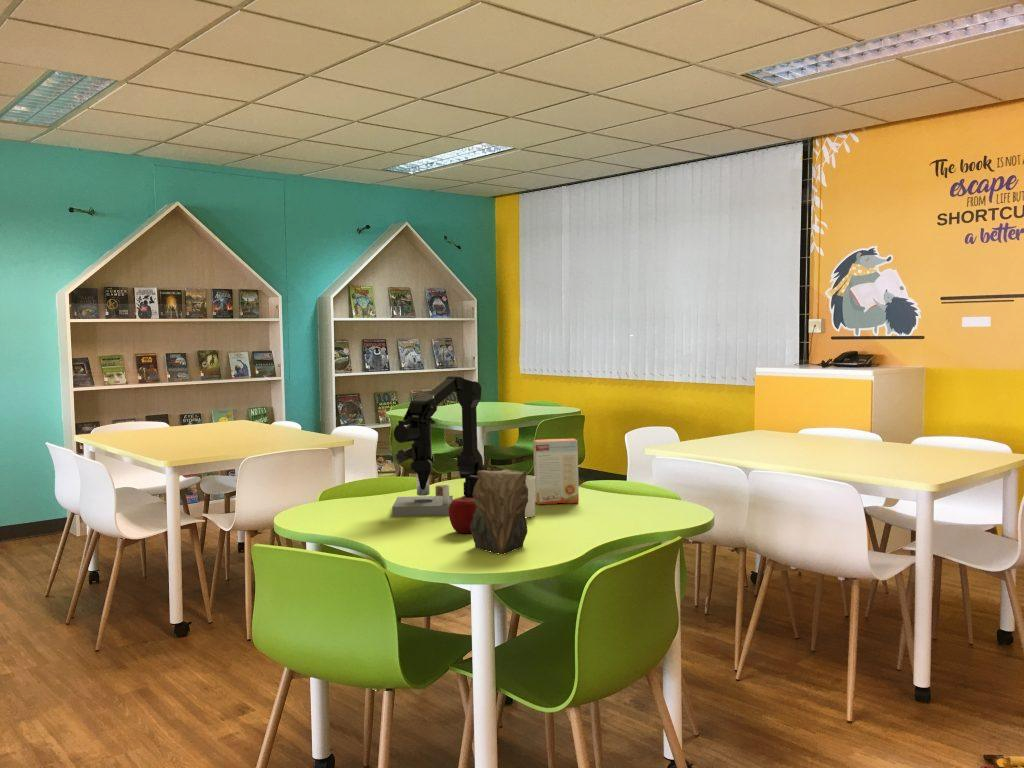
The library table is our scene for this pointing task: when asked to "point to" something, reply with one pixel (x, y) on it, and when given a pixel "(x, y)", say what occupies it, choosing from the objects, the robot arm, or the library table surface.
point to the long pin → (424, 491)
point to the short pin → (439, 490)
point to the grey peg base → (423, 505)
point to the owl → (500, 510)
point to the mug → (530, 496)
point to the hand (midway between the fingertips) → (423, 488)
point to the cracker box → (556, 471)
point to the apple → (461, 514)
